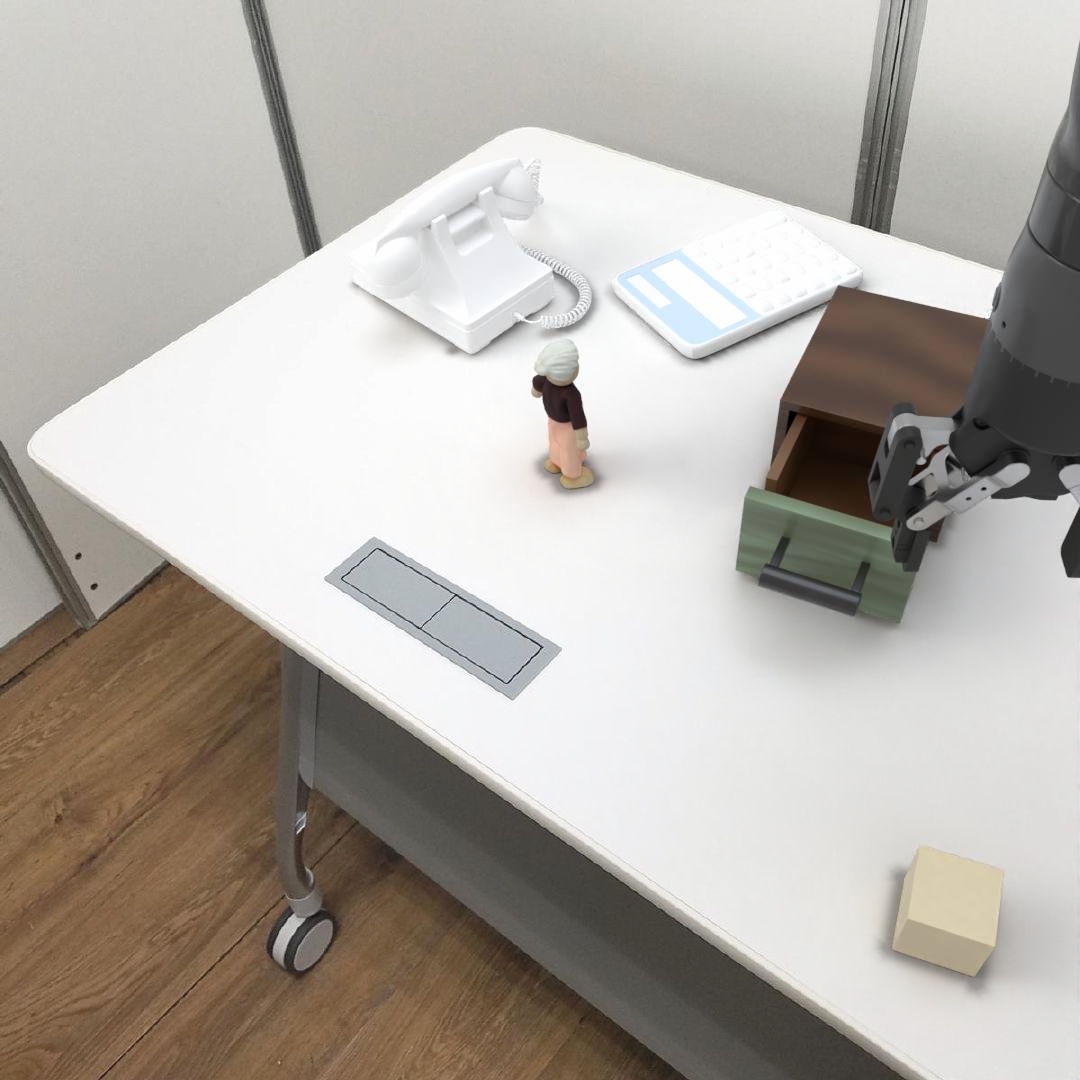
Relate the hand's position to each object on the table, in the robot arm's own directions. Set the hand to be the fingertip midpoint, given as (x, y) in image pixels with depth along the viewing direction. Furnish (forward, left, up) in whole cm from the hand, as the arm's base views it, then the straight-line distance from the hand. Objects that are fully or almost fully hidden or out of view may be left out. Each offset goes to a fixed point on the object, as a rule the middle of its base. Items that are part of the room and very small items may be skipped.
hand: (988, 563), depth 59 cm
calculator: (+23, -41, -16) cm, 50 cm away
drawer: (+8, -12, -15) cm, 21 cm away
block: (-3, +14, -16) cm, 21 cm away
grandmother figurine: (+30, -14, -16) cm, 37 cm away
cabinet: (+7, -23, -16) cm, 29 cm away
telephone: (+46, -35, -16) cm, 60 cm away
